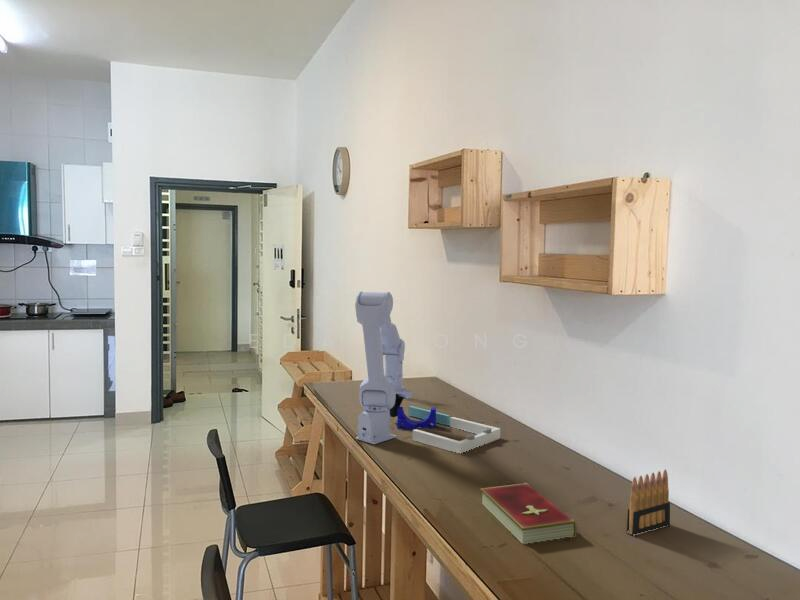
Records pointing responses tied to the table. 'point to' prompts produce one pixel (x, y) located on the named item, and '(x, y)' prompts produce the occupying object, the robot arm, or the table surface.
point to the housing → (472, 441)
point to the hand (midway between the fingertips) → (393, 416)
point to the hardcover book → (527, 513)
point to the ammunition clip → (649, 503)
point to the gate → (424, 413)
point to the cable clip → (407, 423)
